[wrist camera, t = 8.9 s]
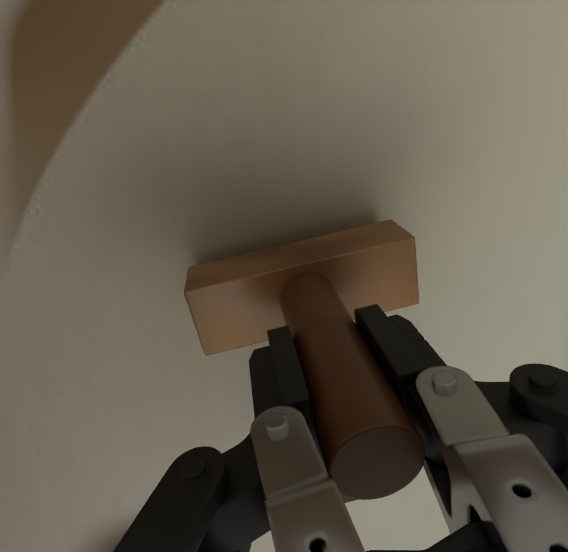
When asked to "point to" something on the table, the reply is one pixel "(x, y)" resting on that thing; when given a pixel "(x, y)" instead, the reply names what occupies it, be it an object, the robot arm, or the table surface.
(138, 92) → the table surface
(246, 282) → the wooden rubber stamp
